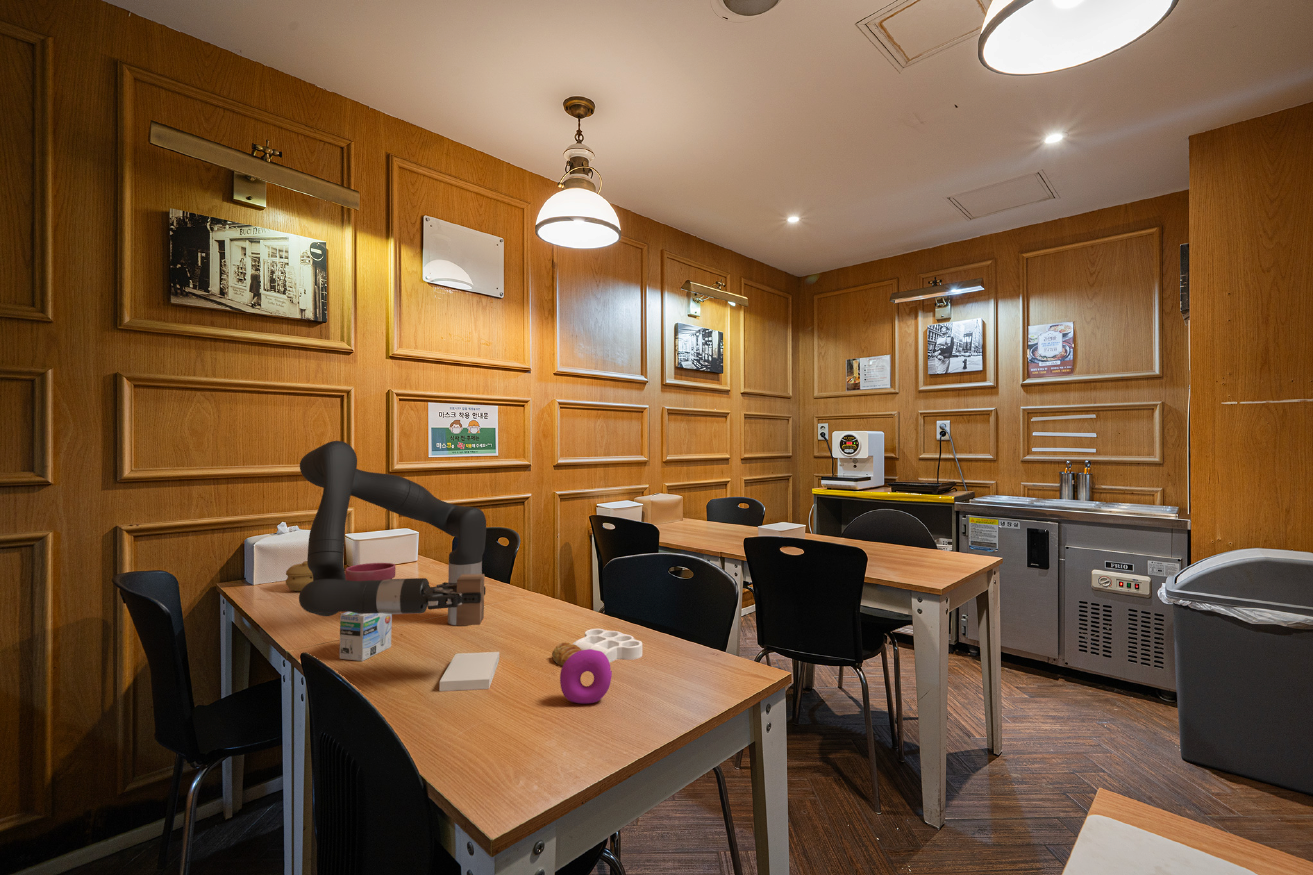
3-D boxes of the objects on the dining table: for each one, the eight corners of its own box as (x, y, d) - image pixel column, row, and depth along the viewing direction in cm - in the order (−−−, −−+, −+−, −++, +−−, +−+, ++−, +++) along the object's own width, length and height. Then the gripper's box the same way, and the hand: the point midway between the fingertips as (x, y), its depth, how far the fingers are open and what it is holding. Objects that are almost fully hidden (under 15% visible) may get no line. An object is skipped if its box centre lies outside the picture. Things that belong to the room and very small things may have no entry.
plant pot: (364, 600, 185) (365, 561, 185) (404, 602, 183) (404, 562, 183) (333, 612, 171) (334, 570, 171) (376, 614, 169) (377, 572, 169)
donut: (591, 714, 107) (591, 661, 108) (554, 702, 112) (555, 652, 112) (615, 698, 114) (616, 649, 114) (580, 688, 119) (580, 640, 119)
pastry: (593, 666, 132) (593, 649, 132) (567, 673, 127) (567, 656, 128) (573, 654, 139) (573, 638, 139) (548, 660, 135) (548, 644, 135)
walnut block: (460, 618, 128) (461, 574, 128) (483, 617, 128) (484, 573, 129) (456, 625, 123) (457, 579, 123) (479, 624, 123) (480, 579, 124)
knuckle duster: (562, 651, 141) (604, 636, 152) (612, 670, 130) (654, 653, 141) (562, 638, 141) (604, 624, 153) (612, 655, 130) (654, 639, 141)
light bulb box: (362, 662, 132) (363, 616, 132) (337, 659, 134) (338, 614, 134) (392, 646, 143) (393, 603, 143) (369, 644, 144) (370, 602, 144)
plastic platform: (455, 662, 133) (455, 653, 133) (499, 660, 134) (499, 651, 134) (439, 691, 117) (439, 681, 117) (489, 688, 118) (489, 679, 118)
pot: (276, 593, 193) (277, 564, 193) (303, 585, 204) (304, 557, 204) (306, 595, 191) (307, 565, 191) (332, 586, 202) (332, 558, 202)
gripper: (393, 587, 117) (477, 585, 119) (413, 571, 131) (488, 570, 133) (392, 623, 117) (477, 620, 119) (412, 604, 131) (488, 602, 133)
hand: (482, 594), depth 126 cm, fingers closed on walnut block, 5 cm apart
